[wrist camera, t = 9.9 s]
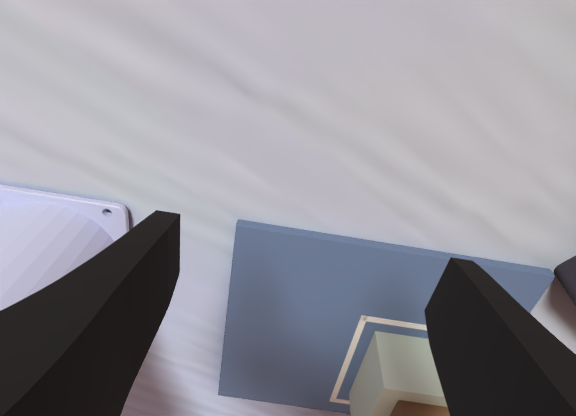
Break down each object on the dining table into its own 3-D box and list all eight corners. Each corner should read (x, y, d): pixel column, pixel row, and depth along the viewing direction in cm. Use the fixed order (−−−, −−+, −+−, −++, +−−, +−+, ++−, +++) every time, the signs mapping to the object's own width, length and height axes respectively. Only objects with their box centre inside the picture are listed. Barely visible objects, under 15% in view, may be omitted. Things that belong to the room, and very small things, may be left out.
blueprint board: (219, 387, 31) (217, 395, 30) (237, 219, 22) (235, 226, 22) (446, 419, 32) (448, 428, 31) (549, 269, 23) (555, 277, 22)
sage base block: (348, 393, 29) (353, 451, 26) (375, 330, 26) (384, 388, 22) (441, 407, 30) (457, 465, 26) (480, 346, 26) (505, 406, 23)
